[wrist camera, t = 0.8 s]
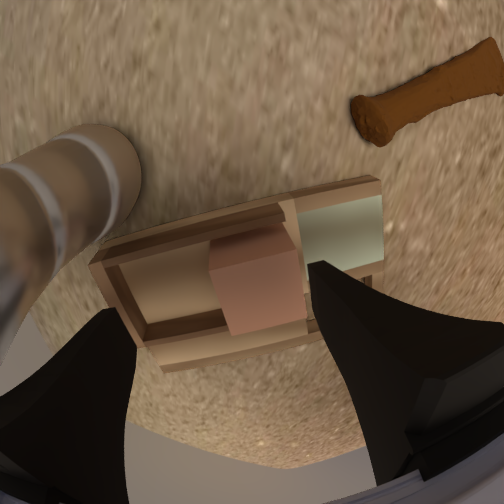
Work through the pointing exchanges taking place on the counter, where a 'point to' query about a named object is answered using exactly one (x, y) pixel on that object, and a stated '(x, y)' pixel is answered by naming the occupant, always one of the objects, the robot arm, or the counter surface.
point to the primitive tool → (430, 92)
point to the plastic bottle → (59, 211)
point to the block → (257, 279)
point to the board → (199, 281)
